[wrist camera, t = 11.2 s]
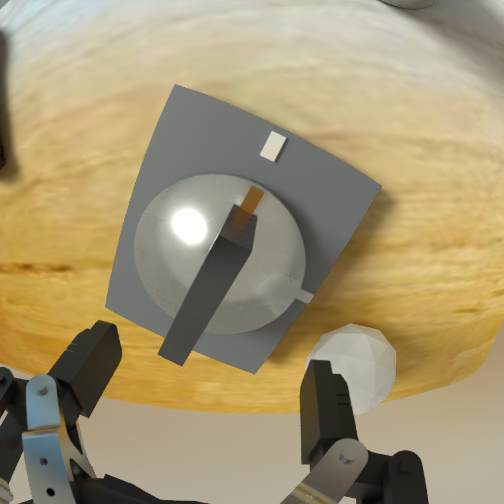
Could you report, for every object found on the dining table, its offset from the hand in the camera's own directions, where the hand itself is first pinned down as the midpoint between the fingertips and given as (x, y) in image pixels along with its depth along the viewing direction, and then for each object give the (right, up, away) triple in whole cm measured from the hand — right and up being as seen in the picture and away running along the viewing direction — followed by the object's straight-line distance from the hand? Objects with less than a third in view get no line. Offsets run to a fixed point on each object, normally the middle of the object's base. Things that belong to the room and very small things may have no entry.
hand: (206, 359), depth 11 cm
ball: (+10, -4, +14) cm, 17 cm away
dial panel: (0, +5, +10) cm, 11 cm away
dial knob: (0, +4, +8) cm, 9 cm away
